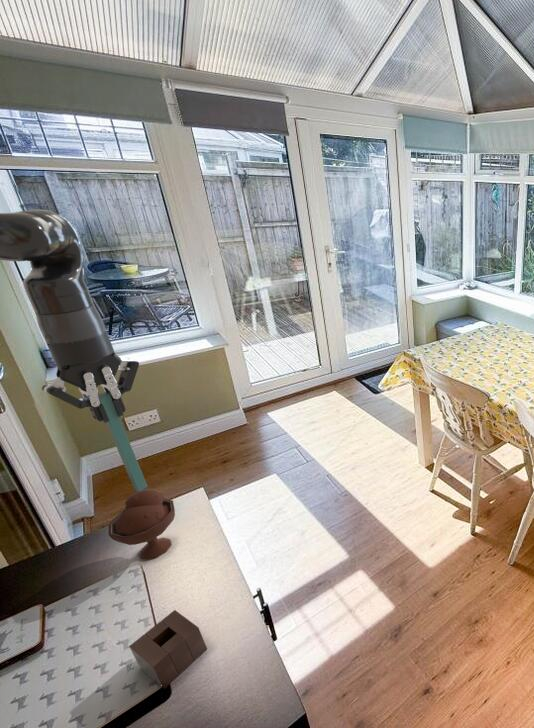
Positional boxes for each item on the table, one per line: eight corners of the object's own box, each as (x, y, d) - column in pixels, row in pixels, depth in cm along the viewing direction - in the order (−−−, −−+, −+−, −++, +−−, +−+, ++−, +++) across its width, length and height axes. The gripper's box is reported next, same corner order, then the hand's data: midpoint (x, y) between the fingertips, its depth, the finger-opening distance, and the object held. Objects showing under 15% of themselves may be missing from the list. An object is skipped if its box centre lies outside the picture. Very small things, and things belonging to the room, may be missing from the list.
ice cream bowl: (133, 538, 93) (109, 486, 87) (192, 523, 97) (174, 473, 91) (113, 578, 84) (86, 523, 78) (180, 560, 88) (158, 507, 82)
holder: (164, 689, 67) (152, 666, 64) (140, 668, 69) (128, 646, 67) (207, 649, 72) (198, 627, 70) (184, 631, 75) (174, 609, 72)
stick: (138, 491, 83) (99, 398, 74) (134, 489, 84) (94, 395, 75) (147, 486, 85) (109, 394, 76) (143, 484, 85) (105, 392, 76)
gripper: (112, 317, 78) (142, 397, 85) (8, 342, 66) (53, 431, 73) (135, 324, 75) (164, 406, 82) (30, 351, 63) (74, 443, 70)
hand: (111, 417), depth 77 cm, fingers closed on stick, 1 cm apart
